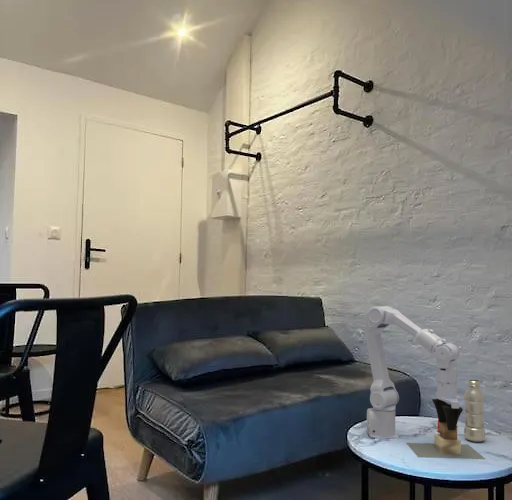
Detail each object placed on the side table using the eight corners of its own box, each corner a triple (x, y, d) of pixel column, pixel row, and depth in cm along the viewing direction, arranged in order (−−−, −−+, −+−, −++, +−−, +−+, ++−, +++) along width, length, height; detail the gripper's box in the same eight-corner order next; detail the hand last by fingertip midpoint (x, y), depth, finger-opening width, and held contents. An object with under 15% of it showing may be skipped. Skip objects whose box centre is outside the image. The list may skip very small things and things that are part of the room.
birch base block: (441, 453, 148) (440, 440, 148) (434, 447, 154) (434, 434, 154) (460, 454, 148) (460, 440, 148) (453, 447, 154) (453, 434, 154)
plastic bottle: (488, 441, 162) (487, 380, 163) (481, 445, 157) (480, 383, 158) (468, 436, 166) (468, 377, 167) (460, 441, 161) (460, 380, 163)
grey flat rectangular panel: (418, 458, 145) (418, 457, 145) (406, 443, 158) (406, 442, 158) (485, 460, 144) (485, 459, 144) (468, 445, 157) (468, 444, 157)
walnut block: (444, 439, 149) (444, 426, 150) (439, 435, 153) (439, 422, 154) (457, 439, 149) (457, 426, 149) (452, 435, 153) (452, 422, 153)
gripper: (469, 387, 145) (469, 433, 144) (451, 377, 159) (451, 419, 159) (445, 386, 145) (445, 433, 144) (429, 377, 160) (429, 419, 159)
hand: (447, 426), depth 151 cm, fingers open, 7 cm apart
